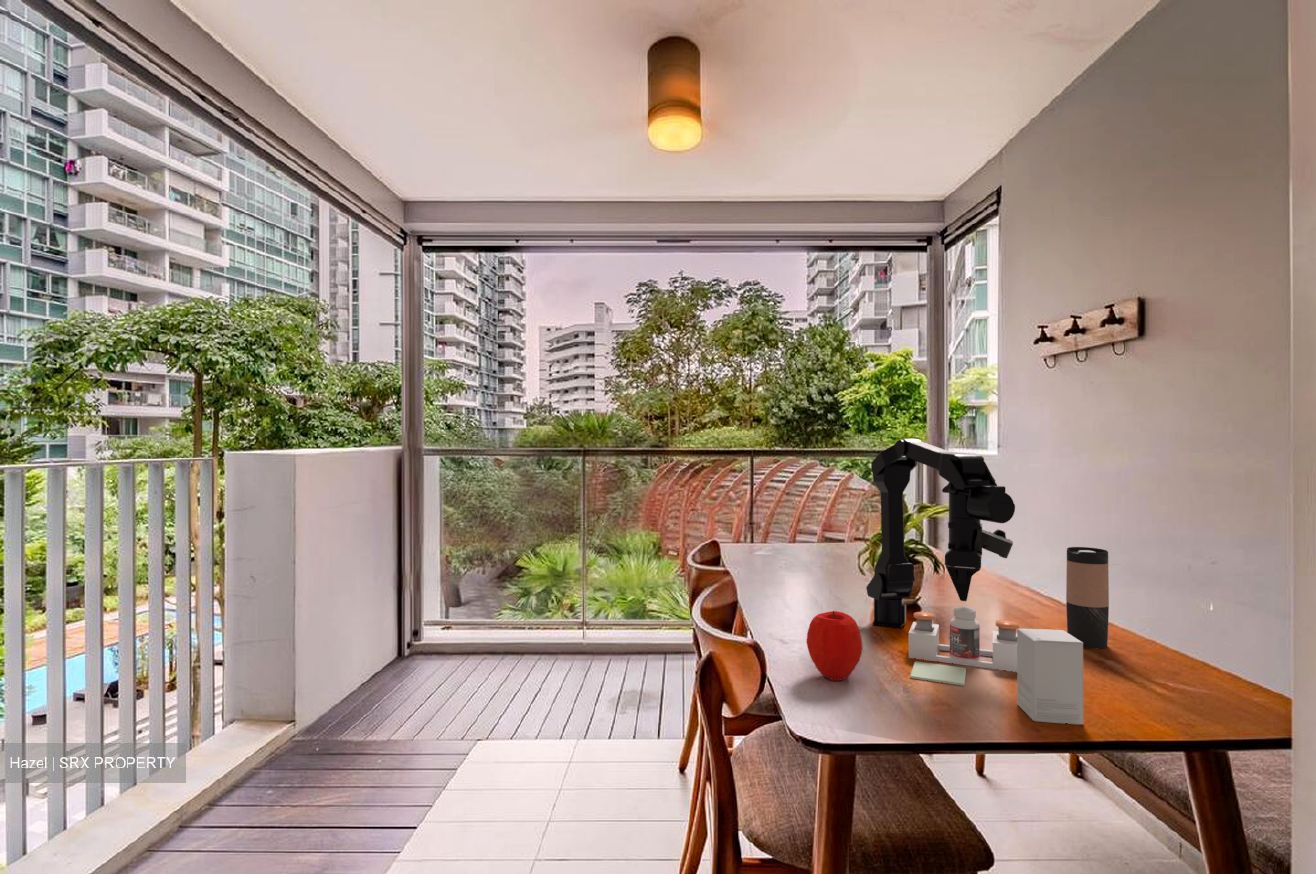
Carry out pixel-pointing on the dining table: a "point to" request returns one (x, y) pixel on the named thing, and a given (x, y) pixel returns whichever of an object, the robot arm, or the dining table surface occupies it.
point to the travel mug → (1088, 596)
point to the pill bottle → (964, 634)
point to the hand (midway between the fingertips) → (964, 596)
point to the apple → (834, 644)
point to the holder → (928, 647)
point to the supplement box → (1050, 675)
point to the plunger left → (924, 621)
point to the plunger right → (1007, 630)
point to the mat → (938, 673)
